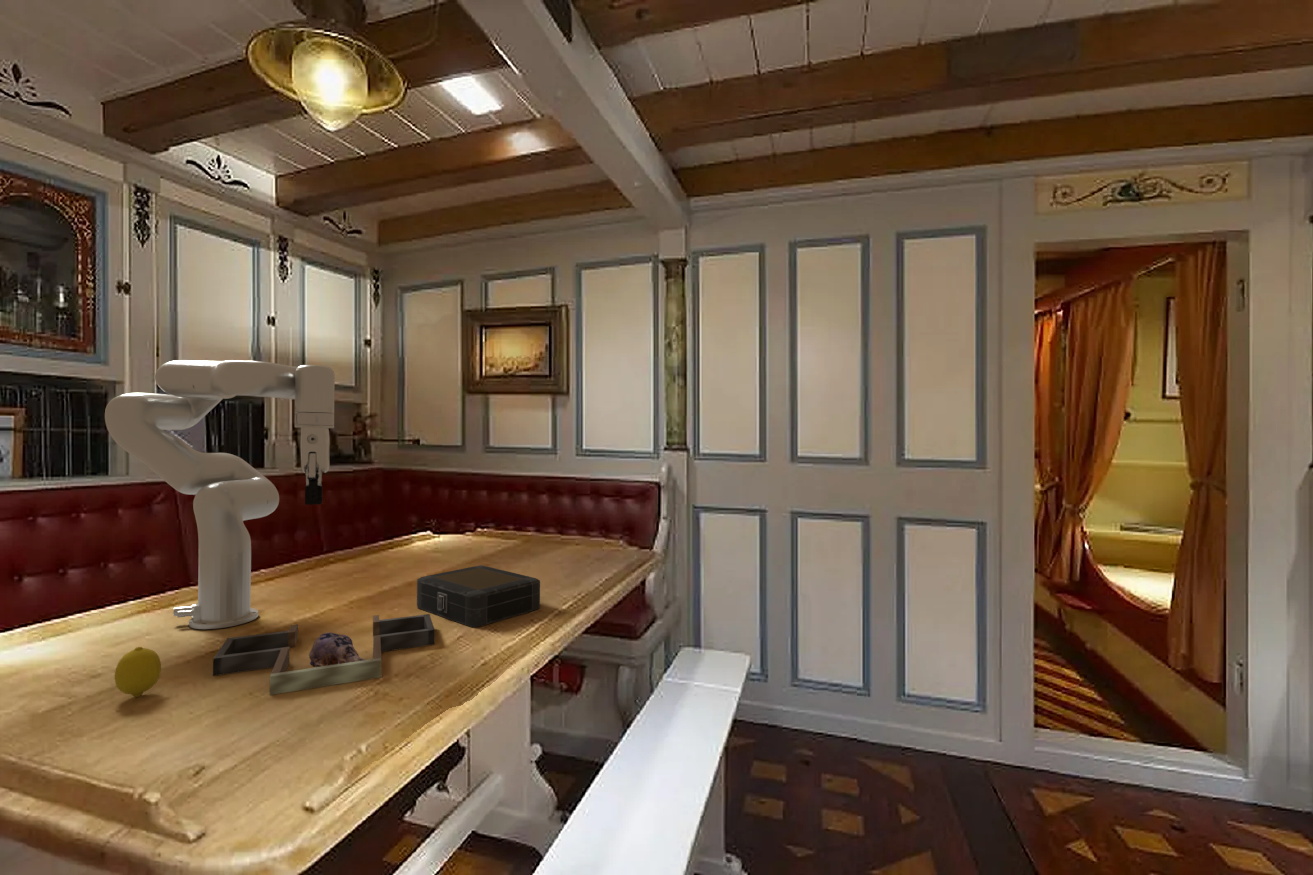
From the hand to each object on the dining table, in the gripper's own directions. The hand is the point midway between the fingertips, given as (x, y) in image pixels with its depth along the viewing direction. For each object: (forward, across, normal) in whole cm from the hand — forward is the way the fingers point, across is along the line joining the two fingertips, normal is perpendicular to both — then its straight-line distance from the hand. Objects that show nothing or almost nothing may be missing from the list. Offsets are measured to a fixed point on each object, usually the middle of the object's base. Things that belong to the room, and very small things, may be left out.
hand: (313, 503), depth 127 cm
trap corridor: (+27, -22, -5) cm, 35 cm away
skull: (+28, -30, -6) cm, 41 cm away
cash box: (+28, -1, -35) cm, 45 cm away
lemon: (+27, -28, +22) cm, 45 cm away
